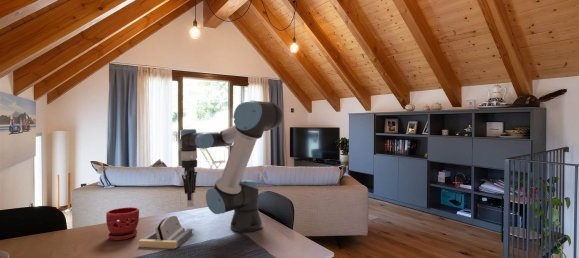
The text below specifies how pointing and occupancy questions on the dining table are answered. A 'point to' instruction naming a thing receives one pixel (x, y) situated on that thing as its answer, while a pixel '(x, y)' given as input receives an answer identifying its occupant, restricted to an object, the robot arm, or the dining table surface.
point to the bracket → (150, 241)
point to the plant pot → (122, 223)
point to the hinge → (169, 228)
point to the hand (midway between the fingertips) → (190, 206)
